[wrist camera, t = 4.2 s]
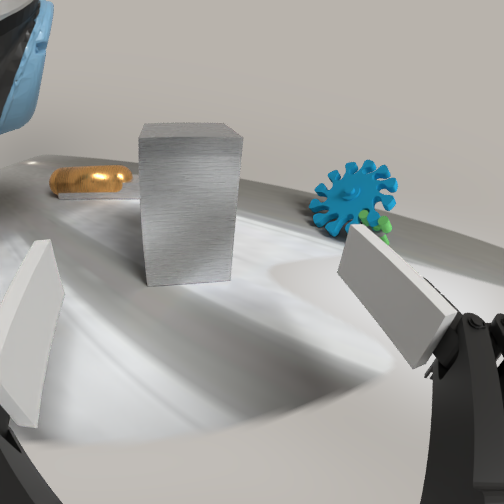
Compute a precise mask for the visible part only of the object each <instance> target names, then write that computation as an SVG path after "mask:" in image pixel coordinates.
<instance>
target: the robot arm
mask: <svg viewBox="0 0 504 504" xmlns="http://www.w3.org/2000/svg"><path fill="white" fill-rule="evenodd" d="M53 7H54V5H53V3H52V2H49V1H46V0H0V134H3V133H6V132H9V131H12V130H15V129H19V128H21V127H22V126H24V125H25V124H26V123H27V122H28V121H29V120H30V119H31V117H32V116H33V114H34V111H35V108H36V104H37V100H38V96H39V90H40V85H41V79H42V73H43V68H44V62H45V56H46V50H45V49H46V47H47V43H48V39H49V35H50V30H51V25H52V19H53V11H54V8H53ZM337 273H338V275H339V276H340V277H341V278H342V279H343V281H344V282H345V283H346V284H347V285H348V287H349V288H350V289H351V290H352V291H353V293H354V294H355V295H356V297H357V298H358V299H359V300H360V301H361V303H362V304H363V305H364V306H365V308H366V309H367V310H368V311H369V313H370V314H371V315H372V316H373V318H374V319H375V320H376V322H377V323H378V324H379V325H380V327H381V328H382V329H383V331H384V332H385V333H386V334H387V336H388V337H389V338H390V340H391V341H392V342H393V344H394V345H395V346H396V348H397V349H398V350H399V351H400V353H401V354H402V355H403V357H404V358H405V359H406V361H407V362H408V363H409V365H410V366H411V367H412V369H415V368H417V367H419V366H422V365H424V364H426V362H427V361H428V359H429V358H430V356H431V355H432V353H433V354H434V355H435V357H436V359H435V360H434V362H433V363H432V365H431V366H430V368H429V369H428V371H427V372H426V373H425V377H424V378H427V376H428V375H429V374H430V372H433V374H432V376H431V377H430V379H432V380H433V395H432V417H431V431H430V443H429V452H428V460H427V467H426V475H425V480H424V486H423V492H422V497H421V502H420V504H504V360H503V361H502V363H501V364H500V365H499V367H497V365H496V361H497V359H498V358H499V357H500V355H501V354H502V355H503V357H504V314H501V313H500V314H497V315H496V316H495V318H494V319H493V321H492V323H485V322H484V321H483V320H482V319H481V318H480V317H479V316H477V315H475V314H473V313H465V314H464V315H462V314H461V313H460V312H459V311H458V310H457V309H456V308H455V307H454V306H453V304H451V302H450V301H449V300H447V299H446V298H445V297H444V296H443V295H442V294H440V292H439V291H438V290H437V289H436V288H434V286H433V285H432V284H431V283H430V282H429V281H428V280H427V279H425V278H424V277H422V276H421V275H420V274H419V273H418V272H417V271H415V270H414V269H413V268H412V267H411V266H410V265H409V264H408V263H407V262H406V261H405V260H404V259H402V258H401V257H400V256H399V255H398V254H397V253H396V252H395V251H394V250H392V249H391V248H390V247H389V246H388V245H387V244H386V243H384V242H383V241H382V240H381V239H380V238H379V237H378V236H376V235H375V234H374V233H373V232H372V231H371V230H369V229H368V228H367V227H366V226H365V225H363V224H350V228H349V231H348V235H347V239H346V243H345V246H344V250H343V254H342V257H341V261H340V264H339V268H338V271H337ZM64 296H65V292H64V289H63V285H62V282H61V278H60V275H59V271H58V268H57V264H56V260H55V256H54V252H53V248H52V244H51V239H48V240H36V241H34V243H33V245H32V246H31V248H30V250H29V251H28V253H27V255H26V256H25V258H24V260H23V262H22V263H21V265H20V267H19V269H18V271H17V273H16V274H15V276H14V278H13V280H12V282H11V284H10V286H9V288H8V290H7V292H6V294H5V296H4V298H3V300H2V302H1V304H0V504H63V503H62V502H61V501H60V500H59V498H58V497H57V496H56V495H55V494H54V492H53V491H52V490H51V488H50V487H49V486H48V484H47V483H46V482H45V480H44V479H43V478H42V476H41V475H40V473H39V472H38V470H37V469H36V468H35V466H34V465H33V463H32V462H31V460H30V459H29V457H28V456H27V454H26V453H25V451H24V449H23V448H22V446H21V444H20V443H19V441H18V439H17V438H16V436H15V434H14V432H13V431H12V430H11V428H10V427H9V426H8V425H9V419H10V417H11V419H12V420H13V421H14V422H15V423H16V424H17V425H18V426H23V427H31V428H38V420H39V412H40V404H41V397H42V391H43V385H44V379H45V374H46V369H47V364H48V359H49V354H50V350H51V345H52V341H53V337H54V333H55V329H56V325H57V321H58V317H59V314H60V310H61V307H62V303H63V300H64Z"/></svg>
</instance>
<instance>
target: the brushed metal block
mask: <svg viewBox="0 0 504 504" xmlns="http://www.w3.org/2000/svg"><path fill="white" fill-rule="evenodd" d="M242 145H243V137H241V136H240V135H239V134H237V133H236V132H235V131H234V130H232V129H231V128H229V127H228V126H227V125H225V124H224V123H151V124H144V126H143V129H142V131H141V134H140V136H139V187H140V208H141V224H142V237H143V249H144V259H145V269H146V278H147V286H162V285H177V284H191V283H205V282H218V281H230V280H231V269H232V257H233V245H234V233H235V221H236V210H237V198H238V187H239V176H240V165H241V156H242Z"/></svg>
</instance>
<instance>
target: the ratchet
mask: <svg viewBox="0 0 504 504" xmlns="http://www.w3.org/2000/svg"><path fill="white" fill-rule="evenodd" d="M49 185H50V188H51V190H52V192H53V193H54V194H56V195H58V196H59V199H140V187H139V175H132V173H131V171H130V170H129V169H128V168H127V167H125V166H121V165H109V166H82V167H64V168H59V169H57V170H55V171H54V172H53V173H52V175H51V177H50V180H49Z"/></svg>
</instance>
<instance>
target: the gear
mask: <svg viewBox="0 0 504 504" xmlns="http://www.w3.org/2000/svg"><path fill="white" fill-rule="evenodd" d="M345 168H346V173H345V175H344V177H343V178H342V179H341V180H340V178H341V176H340V174H339V173H338V171H337V170H334V171H332V172H330V173H329V174H328V177H329V179H330V180H331V182H333V187H332V188H331V189H330V190H328V189H327V188H326V186H325V185H324V184H323V183H321V184H319V185H318V186H317V187H316V188H315V192H316V193H317V194H318V196H324V197H327V200H326V201H325V202H322V203H321V202H319V200H318V199H313V200H312V201H311V203H310V206H309V208H310V209H311V210H312V212H314V213H316V212H319V211H322V210H329V211H328V212H327V213H325V214H322V213H316V214H315V215H314V216H313V220H314V223H315V224H316V226H317V227H319V228H320V227H322V226H324V225H325V224H326V223H327V222H328V221H330V220H332V219H336V218H338V219H337V220H336V221H333V222H329V223H328V224H327V225H326V226H325V228H326V230H327V231H328V232H329V234H330V235H332V236H334V237H335V236H337V235H338V234H339V232H340V229H341V228H342V226H343V225H344V224H345V223H346V222H348V221H349V220H351V219H353V220H352V221H351V222H349V223H348V224H347V225H346V227H345V230H346V232H347V233H348V231H349V228H350V224H360V221H362V223H363V225H365V226H366V227H367V228H368V229H369V230H371V231H372V232H373V233H374V234H375V235H376V236H378V237H379V238H380V239H381V240H382V241H383V242H384V243H386V244H387V245H389V241H388V239H387V237H386V235H385V234H386V233H389V232H390V231H391V230H392V226H391V224H390V222H389V219H388V217H386V216H381V217H380V215H379V213H378V212H376V211H375V208H374V205H375V204H376V203H377V202H379V201H381V202H382V204H383V206H384V208H385V210H387V211H390V210H391V209H392V208H393V207H394V206H395V204H396V202H395V199H394V197H393V196H391V195H384V194H381V193H380V192H379V191H380V190H381V189H387V190H388V191H389V192H391V193H393V192H396V191H397V187H398V184H397V181H396V178H389V177H390V172H389V170H388V168H387V166H386V165H382V166H380V167H379V168H378V169H377V170H376V166H375V164H374V162H373V161H371V160H366V161H365V162H364V164H363V166H362V168H361V169H360V170H359V171H357V170H358V166H357V165H356V163H355V162H350V163H347V164H346V165H345ZM374 170H376V171H374ZM373 171H374V172H373ZM370 172H372V173H370ZM354 173H355V174H354ZM367 173H368V174H367ZM379 178H383V179H387V178H389V179H387V180H383V181H379V180H377V179H379Z"/></svg>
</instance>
